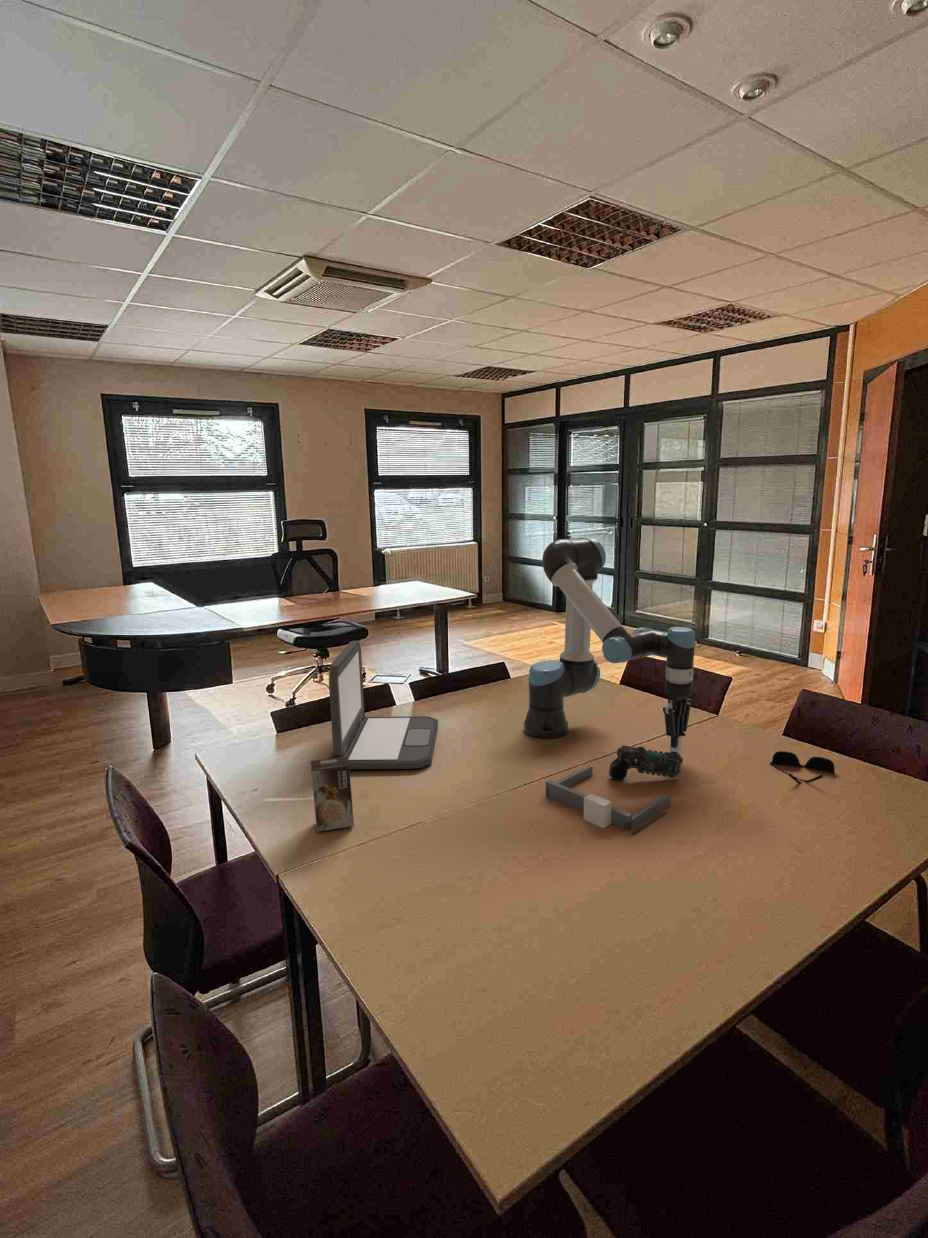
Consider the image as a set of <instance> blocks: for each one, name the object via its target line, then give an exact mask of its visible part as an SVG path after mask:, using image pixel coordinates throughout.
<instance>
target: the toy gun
mask: <svg viewBox="0 0 928 1238" xmlns="http://www.w3.org/2000/svg"><path fill="white" fill-rule="evenodd" d="M616 756H617V758H615V759H614V760H612V762H610V765H609V771H608V775H609V777H610V778H612V779H615V780H617V781H620V780H621V781H623V780H625V778H626V777H627V774H628V771H629V770H631V769H636V771H637V773H638V774H646V775H650V774H651V775H652V776H655V775H656V776H658V777H660V776H662V777H664V778H666V777H667V778H671V779H674V778H675V777H676V778H677V777H678V776H679V774H681V771H682V770H681V769H680V766H681V764H683V762H684V758H683V757H682V755H681V756H680V754H677V752H673V751H671V752H670V751H669V752H668V751H664V752H663V751H660V750H659V752H658V751H657V750H655V749H654V750H652V749H646V748H645V747H644V746H639V745H638V746H637V747H633V746H629V745H622V746H620V747H619V748H617V749H616Z"/></svg>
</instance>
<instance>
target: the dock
mask: <svg viewBox="0 0 928 1238" xmlns="http://www.w3.org/2000/svg"><path fill="white" fill-rule="evenodd" d="M593 768H594V767H593V766H592V765H590V764H589V765H587V766H585V767H583V768H581V769H579V770H577V771H574V772H572V773H571V774H568V775H567V776H564V777H562V778H561V779H559V780H556V781H553V780H552V779H548V780H546V781H545V796H547V797H548V798H550V799H553V800H555V801H558V802H560V803H562V804H565V805H567V806H569V807H571V808H573V809H575V810H577V811H580V812H582V813H583V820H584V821H586V822H589V823H591V824H593V825H595V826H597V827H600V828H602V829H604V828H606V827H608V826H609V825H613V826H616V827H618V828H619V829H620V828H621V829H622V830H625V831H627V832H629V831H630V830H632V829H634V828H635V827H637V826H638V825H639V824H641V823H642V822H644V821H646V820H647V819H649V818H651V817H652V816H653V815H654V814H657V813H658V812H660V811H661V810H663V809H664V808H665V807H668V806H669V805H670V804H671V795H669V794H666V793H665V794H664V795H662V796H661V797H659V798H658V799H656V800H654V801H653V802H651V803H650V804H648V805H646V806H645V807H643V808H642V809H640V810H638V811H637V812H635V813H633V814H632V813H630V812H628V811H625V810H623V809H621V808H618V807H616V806H613V805H612V804H613V803H612V802H613V801H611V800H609V799H606V798H604V797H601V796H598V795H596V794H594V793H589V794H588V795H587V794H584V793H583V792H580V791H577V790H575V789H573V788H570V787H572V786H573V785H575V784H577V783H580V782H581V781H583V780H584V779H585V780H586V779H587V778H588V777H590V776H593V774H594V773H593V770H594V769H593ZM666 814H667V812H666V811H665V810H664V811H663V812H661V813H660V814H658V815H656V816H654V817H653V818H652V819H650V820H649V821H646V822H645V823H644V824H642V825H641V826H639V827H638V828H636V829H635V830H634V831H631V833H630V834H631V836H635V835H637V834H638V833H640V832H641V831H642V830H644V829H646V828H647V827H649V826H650V825H652V824H653V823H655V822H656V821H658V820H659V819H661V818H662V817H663V816H665V815H666Z"/></svg>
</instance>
